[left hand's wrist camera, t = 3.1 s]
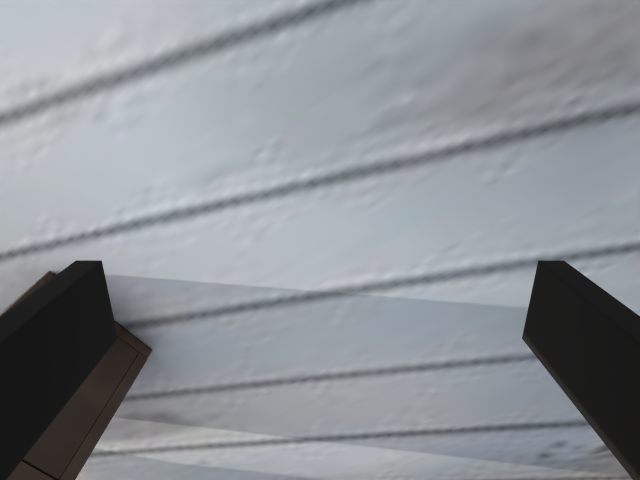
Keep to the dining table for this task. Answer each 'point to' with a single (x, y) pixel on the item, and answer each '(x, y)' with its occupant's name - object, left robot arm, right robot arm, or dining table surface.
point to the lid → (27, 473)
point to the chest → (86, 405)
